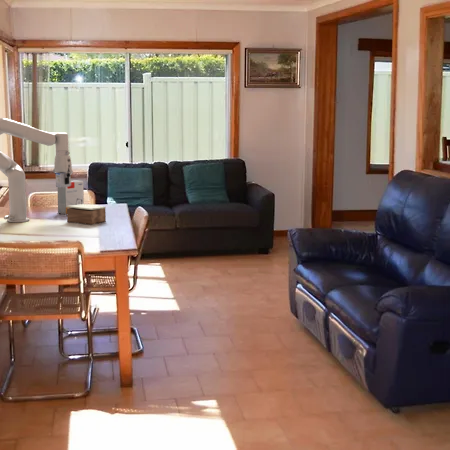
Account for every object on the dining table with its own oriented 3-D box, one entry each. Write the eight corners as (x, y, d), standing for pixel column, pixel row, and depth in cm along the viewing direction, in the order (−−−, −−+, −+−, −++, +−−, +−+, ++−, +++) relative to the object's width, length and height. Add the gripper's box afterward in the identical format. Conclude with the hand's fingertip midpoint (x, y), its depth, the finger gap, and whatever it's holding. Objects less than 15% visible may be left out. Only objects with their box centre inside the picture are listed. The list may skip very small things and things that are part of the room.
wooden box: (91, 225, 413) (90, 211, 412) (67, 221, 422) (66, 208, 421) (105, 221, 424) (105, 208, 423) (82, 218, 433) (81, 205, 432)
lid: (90, 210, 411) (90, 208, 411) (66, 207, 420) (66, 205, 420) (105, 208, 423) (105, 206, 422) (81, 205, 432) (81, 204, 432)
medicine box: (66, 185, 434) (65, 171, 432) (71, 186, 431) (70, 172, 429) (55, 187, 428) (55, 172, 426) (60, 187, 425) (60, 173, 423)
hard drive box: (65, 214, 448) (64, 182, 444) (57, 213, 452) (56, 181, 449) (84, 211, 460) (83, 180, 456) (76, 210, 465) (75, 179, 461)
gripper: (77, 153, 425) (78, 184, 428) (55, 152, 433) (56, 182, 436) (69, 154, 418) (70, 185, 422) (46, 153, 426) (48, 183, 430)
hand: (63, 183), depth 429 cm, fingers closed on medicine box, 5 cm apart
